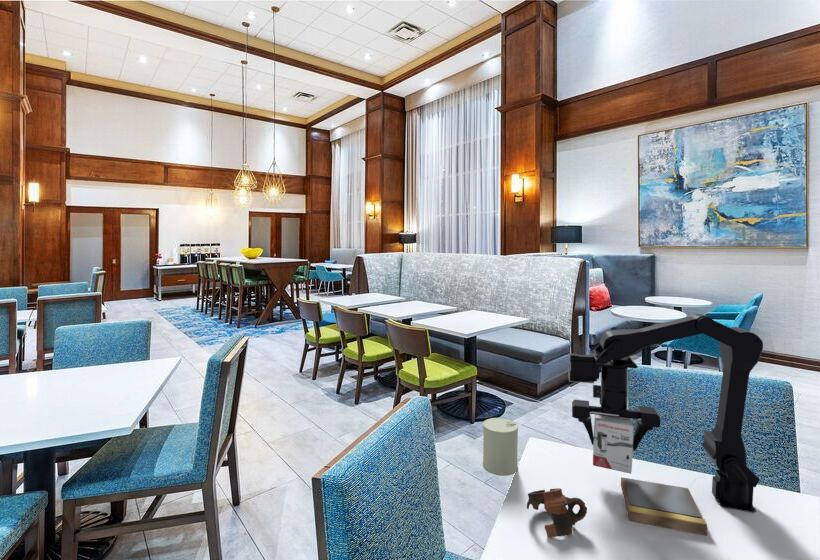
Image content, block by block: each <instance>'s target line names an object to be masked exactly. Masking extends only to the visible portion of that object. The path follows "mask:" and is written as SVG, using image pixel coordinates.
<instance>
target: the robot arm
mask: <svg viewBox="0 0 820 560" xmlns="http://www.w3.org/2000/svg"><path fill="white" fill-rule="evenodd" d="M699 335H705V336H708V337H710V338H712V339H714V340H716V341H717V342H718V347H719V354H720V357H721V360H722V361H721V362H722V365H723V368H722V369H723V371H722V377H721V383H720V384H721V386H720V393H719V401H718V407H717V408H718V409H717V416H716V423H715V426H714V428H713V429H712V430H711V431H710V430H706V429H705V430H704V431H703V435H704V438H703V442H702V443H701V446H702V448H703V449H704V452H705V454H706V455H707V457H708V459H710V461H711V462H712V463H713V464H714V466H715V467H717V469H715V475H713V476H712V479H711V480H712V481H711V482H712V484H711V493H712V496H713V497H714V498H715V500H716V501H717V503H718V504H719V506H720V507H723V508H728V509H734V510H739V511H744V512H751V513H756V512H757V510H756V508H755V507H754V505H753V504H754V502H753V501H754V488H756V487H757V486H758V483H759V482H760V477H758V475H756V474H755V473H754V471H752V470H751V468H750V467H748V464H747V463H748V462H747V452H746V451H747V450H746V447H745V442H744V440H743V435H742V431H743V424H744V418H745V417H744V416H745V410H746V401H747V395H748V389H749V388H748V387H749V381H750V380H749V379H750V374H751V372H752V371H753V369H754V368H755V366H756V365H757V364H758V362H759V361H760V358H761V355H762V352H763V349H764V342H763V339H761V337H759V336H758V335H757V334H755V333H754V332H751V331H748V330H746V329H744V328H742V327H738V326H731V327H729V326H727V325H724V324H723V323H720V322H718V321H716V320H713V319H712V317H710V316H708V315H705V314H703V313H694V314H692V315H690V316H686V317H682V318H677V319H674V320H670V321H666V322H661V323H658V324H654V325H650V326H646V327H641V328H633V329H632V328H631V329H630V328H629V329H627V328H625V329H624V328H622V329H611V330H607V331H605V332H603V333H602V335H601V337H600V339H599V340H600V341H599V344H598V345H597V346H596V347H595V348H594V349H593V350H592V352H591V353H590V354H579V353H572V352H571V353H570V354H569V358H568V364H567V375H568V376H567V377H568V383H570V382H571V383H583V384H584V383H585V384H592V397H593V398H596V399H599V406H597V405H590V401H589V400H583V399H574V400H572V402H571V417H572V418H574V419H577V421H578V422H580V423H582V424H583V426H584V427H585V430H586V432H587V434H588V437H589V440H590V442H591V446H593V444H594V428H593V423H592V417H591V415H595V414H596V415H605V416H614V417H623V418H632V419H633V420H635V421H634V434H633V452H634V451H637V448H638V447H639V445H640V443H641V441H642V439H643V438H644V437H645V435H646V434H647V433H648V432H649V431H653V430H654V428H661V416H660V414H659V412H658V410H657V409H656V408H655V407H651V406H645V405H644V406H641V405H637V407H636V409H637V410H635V409H628V386H629V385H628V379H629V375H628V374H629V369H637V368H638V365H637V363H635V361H633V360H632V358H631V356H632V355H634V354H636V353H638V352H640V351H641V350H643V349H644V348H645V349H646V348H647V347H651V346H655V345H656V346H657V345H660V344H663V343H668V342H671V341H673V342H674V341H676V340H681V339H685V338H690V337H694V336H699ZM600 368H601V370H600ZM599 379H600V384H599V385H598V384H595V382H597V381H598V380H599Z"/></svg>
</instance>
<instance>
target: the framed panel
mask: <svg viewBox="0 0 820 560" xmlns="http://www.w3.org/2000/svg"><path fill="white" fill-rule="evenodd" d="M620 487H621V491H622V495H623V502H624V505H625V509H626V513H627V518H628V519H627V520H628V521H630V522H635V523H640V524H645V525H651V526H656V527H661V528H666V529H671V530H676V531H681V532H687V533H692V534H697V535H701V536H707V535H708V524H707V522H706V519H704V517H703V515H702V513H701V511H700V509H699V506H698V505H697V503H696V501H695V499H694V497H693V495H692V493H691V491H690V489H689V487H684V486H683V487H682V486H678V485H677V486H675V485H671V484H665V483H660V482H659V483H658V482H653V481H647V480H642V479H641V480H640V479H635V478H627V477H620Z"/></svg>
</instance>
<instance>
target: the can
mask: <svg viewBox="0 0 820 560" xmlns="http://www.w3.org/2000/svg"><path fill="white" fill-rule="evenodd" d="M482 429H483V430H482V431H483V435H482V436H483V439H482V440H483V441H482V442H483V443H482V444H483V445H482V446H483V453H482V454H483V456H482V467H483V470H484V471H486V472H488V473H490V474H492V475H495V476H501V477H503V476H506V477H507V476H511V475H514V474H516V473H517V472H518V470H519V467H518V465H519V464H518V439H519V438H518V437H519V435H518V433H519V425H518V423H517V422H516V421H513V420H511V419H508V418H504V417H491V418H488V419H485V420H484V421H483V423H482ZM517 469H518V470H517ZM516 471H517V472H516Z"/></svg>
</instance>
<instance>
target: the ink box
mask: <svg viewBox="0 0 820 560" xmlns="http://www.w3.org/2000/svg"><path fill="white" fill-rule="evenodd" d="M634 420H635V419H632V418H623V417H614V416H605V415H596V414H594V422H593V423H594V426H593V436H594V444H593V445H592V449H593V450H592V466H595V467H598V468H604V469H607V470H612V471H617V472H621V473H626V474H632V470H633V458H634V457H633V452H634V450H633V438H634V431H635V421H634Z"/></svg>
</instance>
